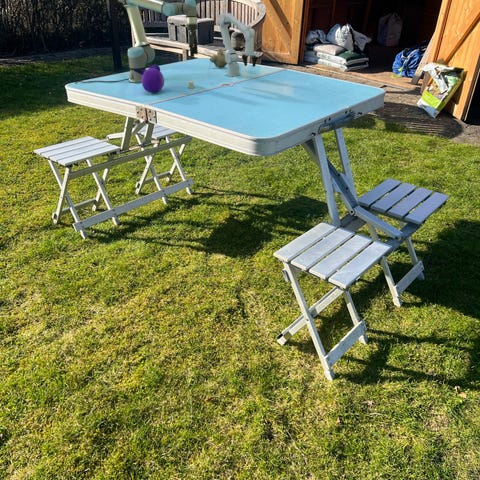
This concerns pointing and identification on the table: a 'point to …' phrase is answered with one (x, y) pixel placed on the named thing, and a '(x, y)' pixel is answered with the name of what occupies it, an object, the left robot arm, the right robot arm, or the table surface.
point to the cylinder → (191, 84)
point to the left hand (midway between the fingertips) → (194, 55)
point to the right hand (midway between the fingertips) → (249, 66)
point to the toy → (152, 79)
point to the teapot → (219, 59)
